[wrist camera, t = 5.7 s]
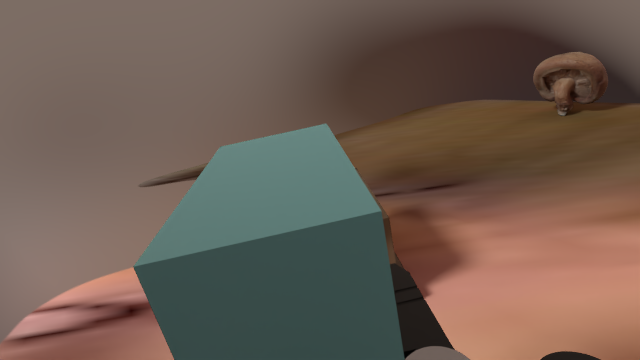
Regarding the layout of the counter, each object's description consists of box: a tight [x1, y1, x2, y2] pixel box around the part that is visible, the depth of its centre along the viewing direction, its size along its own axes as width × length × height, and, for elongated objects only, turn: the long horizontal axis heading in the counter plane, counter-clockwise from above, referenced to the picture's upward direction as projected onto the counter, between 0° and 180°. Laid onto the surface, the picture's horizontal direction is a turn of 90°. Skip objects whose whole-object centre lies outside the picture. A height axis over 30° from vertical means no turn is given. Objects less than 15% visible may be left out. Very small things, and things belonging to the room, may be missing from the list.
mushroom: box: [533, 52, 608, 116], centre depth 45 cm, size 8×6×8 cm
